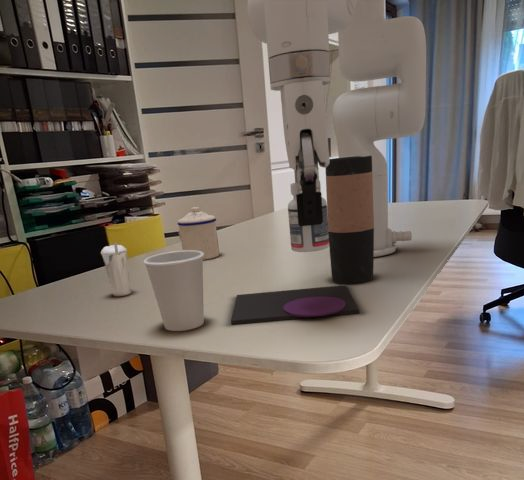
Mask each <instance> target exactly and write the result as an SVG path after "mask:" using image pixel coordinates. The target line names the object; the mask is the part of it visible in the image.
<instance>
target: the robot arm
mask: <svg viewBox="0 0 524 480" xmlns="http://www.w3.org/2000/svg"><path fill="white" fill-rule="evenodd" d="M246 8H247V18H248V19H247V20H248V24H249V27H250V30H251V32H252V33H253V35H254V36H255V37H256V38H257V40H258V41H259V42H261V43H263V44H266V48H267V61H268V74H269V87H270V91H273V92H278V91H279V92H280V103H281V114H282V124H283V125H282V126H283V135H284V144H285V150H286V156H287V160H288V165H289V168H290V169H292V170H293V172H294V183H297V185H298V194H297V195H296V199H297V213H298V224H299V226H309V225H319V224H322V223H323V214H322V198H323V197H322V191H321V192H320V185H321V183H320V184H319V181H320V171H319V170H320V169H319V167H321V168H325V167H327V166H328V165H329V163H330V160H329V159H330V151H329V136H328V123H327V122H328V121H327V109H326V100H325V91H324V86H327V85H329V84H331V80H332V79H331V64H330V63H331V62H330V39H329V38H330V37H329V36H330V35H332V34H336V33H337V36H338V37H337V38H338V62H339V71H340V73H341V76H342V77H343V79H344V80H346V81H348V82H353V83H354V82H356V83H357V82H359V83H360V82H367V81H375V80H382V79H389V78H398V79H400V80H401V81H400V83H391V84H386V85H376V86H369V87H361V88H355V89H351V90H349V91H346V92H344V93H342V94H340V95H339V96H338V97H337V98H336V99H335V101H334V102H333V106H332V112H331V113H332V115H331V116H332V123H333V124H332V125H333V128H334V129H333V130H334V133H335V134H334V135H335V140H336V144H337V145H336V146H337V151H338V158H344V157H354V156H361V157H365V156H372V179H373V213H374V258H378V257H382V256H387V255H391V254H393V253H395V252H396V250H397V245H396V244H397V242H407V241H412V238H413V236H412V231H411V230H407V231H406V230H405V231H396V230H394V231H393V230H392V229H390V228H389V201H388V200H389V195H388V194H389V191H388V190H389V188H388V187H389V185H388V180H389V179H388V175H389V174H388V173H389V172H388V162H387V160H386V158H385V156H384V154H383V153H382V152H381V150H379V148H377V146H375V143H374V142H377V141H381V140H392V139H402V138H408V137H409V138H410V137H414V136H416V135H418V134H419V133H420V132H421V131H422V129H423V128H424V125H425V121H426V120H425V119H426V105H427V90H426V89H427V39H426V31H425V27H424V24H423V23H422V21H421V19H419V18H418V17H417V16H412V15H406V16H405V15H404V16H398V17H394V18H388V19H385V0H247V7H246Z"/></svg>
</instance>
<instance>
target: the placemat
mask: <svg viewBox="0 0 524 480" xmlns="http://www.w3.org/2000/svg"><path fill="white" fill-rule="evenodd" d="M352 314H355V315H356V314H360V308H359V307H358V305H357V303H356V301H355V299H354V298H353V295H352V294H351V292H350V290H349V289H348V287H347V284H342V285H330V286H319V287H310V288H309V287H308V288H298V289H297V288H296V289H290V290H289V289H286V290H277V291H276V290H275V291H264V292H253V293H244V294H236V297H235V301H234V305H233V310H232V315H231V319H230V323H231V324H230V325H241V324H252V323H262V322H263V323H265V322H275V321H286V320H288V321H289V320H298V319H299V320H300V319H309V318H320V317H331V316H344V315H352Z"/></svg>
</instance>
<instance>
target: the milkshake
mask: <svg viewBox="0 0 524 480" xmlns="http://www.w3.org/2000/svg"><path fill="white" fill-rule="evenodd" d="M100 255H101V259H102V261H103V264H104V268H105V270H106V274H107V278H108V282H109V284H110V288H111V291H112V296H114V297H125V296H128V295H130V294H132V288H131V287H132V286H131V278H130V271H129V269H130V268H129V261H128V250H127V248H126V247H125V246H124V245H121V244H118V242H117V241H114V242H113V244H110V245H106V246H104V247H103V248H102V249H101V251H100Z"/></svg>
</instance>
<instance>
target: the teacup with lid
mask: <svg viewBox="0 0 524 480" xmlns="http://www.w3.org/2000/svg"><path fill="white" fill-rule="evenodd" d="M200 209H201V208H200V207H199V206H193V207H191V208H190V212H188V213H187V214H185V215H184V217H181V218H179V219H178V220H177V225H178V228H179V229H178V236H179V240H180V242H181V249H182V251H184V250H196V251H201V252H203V253H204V256H203V261H205V260H210V259H214V258H217V257H219V256H220V247H219V238H218V232H217V231H218V230H217V223H216V221H217V218H216V216H215V215H212V214H209V213H207V212H204V211H201V210H200Z"/></svg>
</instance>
